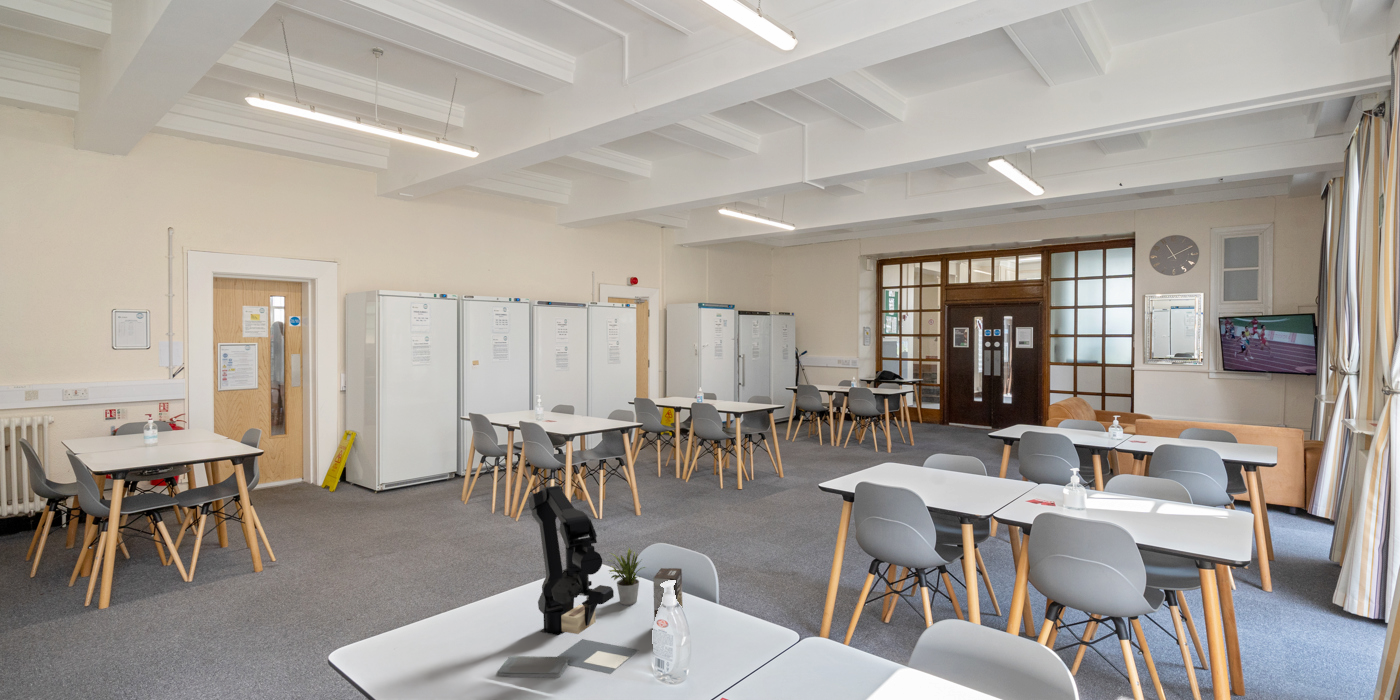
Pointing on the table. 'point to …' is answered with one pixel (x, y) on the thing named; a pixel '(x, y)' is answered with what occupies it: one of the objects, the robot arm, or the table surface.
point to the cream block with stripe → (575, 620)
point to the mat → (597, 655)
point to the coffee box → (659, 578)
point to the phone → (533, 666)
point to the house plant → (627, 579)
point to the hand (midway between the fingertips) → (578, 623)
